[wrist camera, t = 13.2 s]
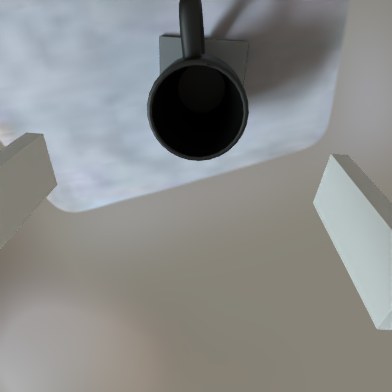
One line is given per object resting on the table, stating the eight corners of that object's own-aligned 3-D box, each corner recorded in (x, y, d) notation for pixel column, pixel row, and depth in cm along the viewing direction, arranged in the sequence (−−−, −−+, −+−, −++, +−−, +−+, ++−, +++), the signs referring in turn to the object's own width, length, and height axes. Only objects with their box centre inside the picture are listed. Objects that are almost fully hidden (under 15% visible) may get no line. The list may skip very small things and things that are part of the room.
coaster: (160, 36, 28) (159, 36, 28) (248, 41, 28) (249, 42, 27) (161, 122, 33) (160, 124, 32) (236, 127, 33) (237, 129, 32)
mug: (243, -3, 25) (256, -11, 17) (238, 124, 32) (246, 160, 24) (155, 2, 26) (129, -3, 18) (168, 126, 33) (153, 162, 25)
